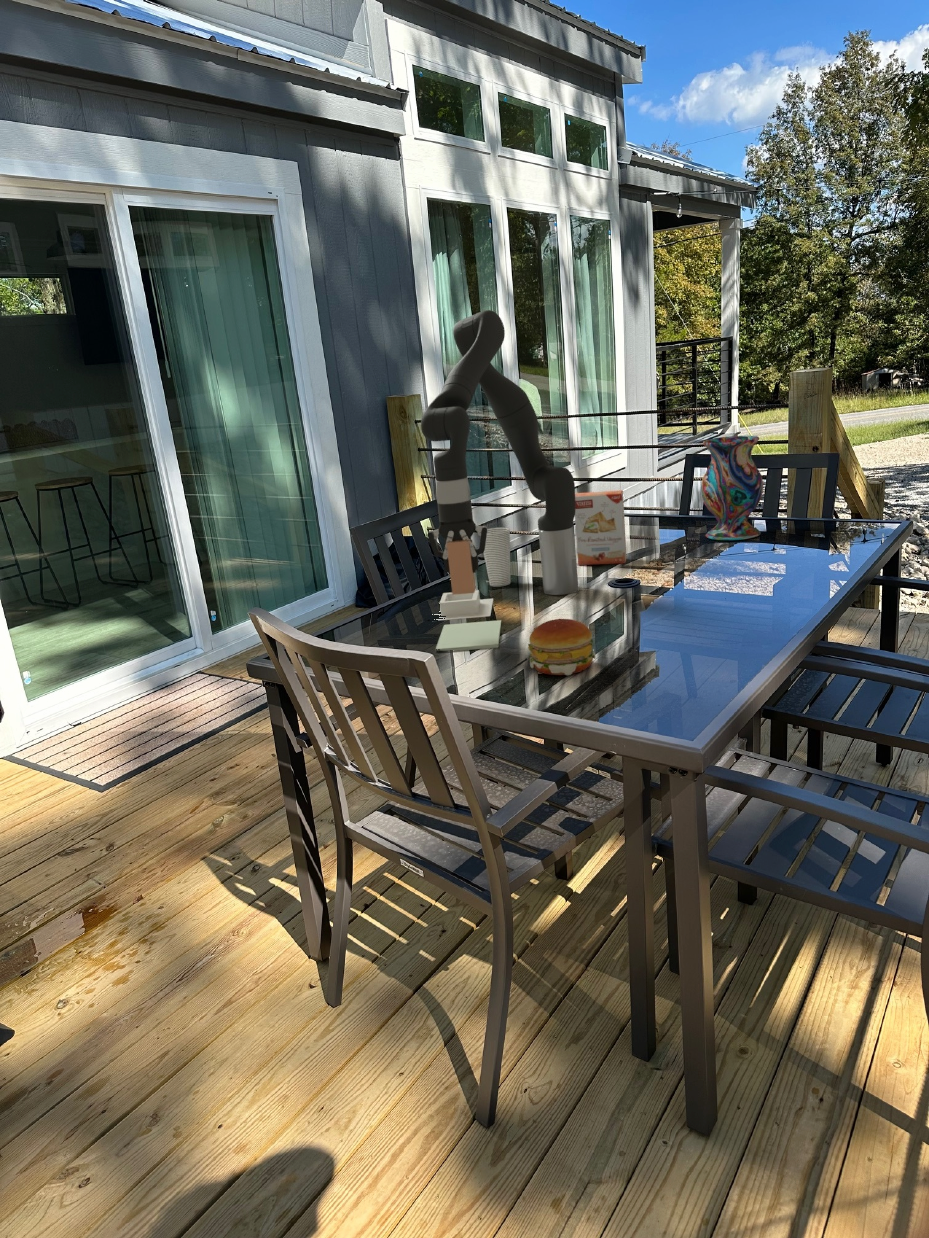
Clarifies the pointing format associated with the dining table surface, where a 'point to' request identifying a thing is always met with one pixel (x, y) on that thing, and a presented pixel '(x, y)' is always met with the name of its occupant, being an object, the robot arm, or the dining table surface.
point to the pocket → (464, 606)
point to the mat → (470, 636)
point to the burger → (561, 647)
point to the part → (461, 567)
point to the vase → (732, 487)
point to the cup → (498, 556)
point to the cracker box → (600, 527)
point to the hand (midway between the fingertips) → (462, 572)
